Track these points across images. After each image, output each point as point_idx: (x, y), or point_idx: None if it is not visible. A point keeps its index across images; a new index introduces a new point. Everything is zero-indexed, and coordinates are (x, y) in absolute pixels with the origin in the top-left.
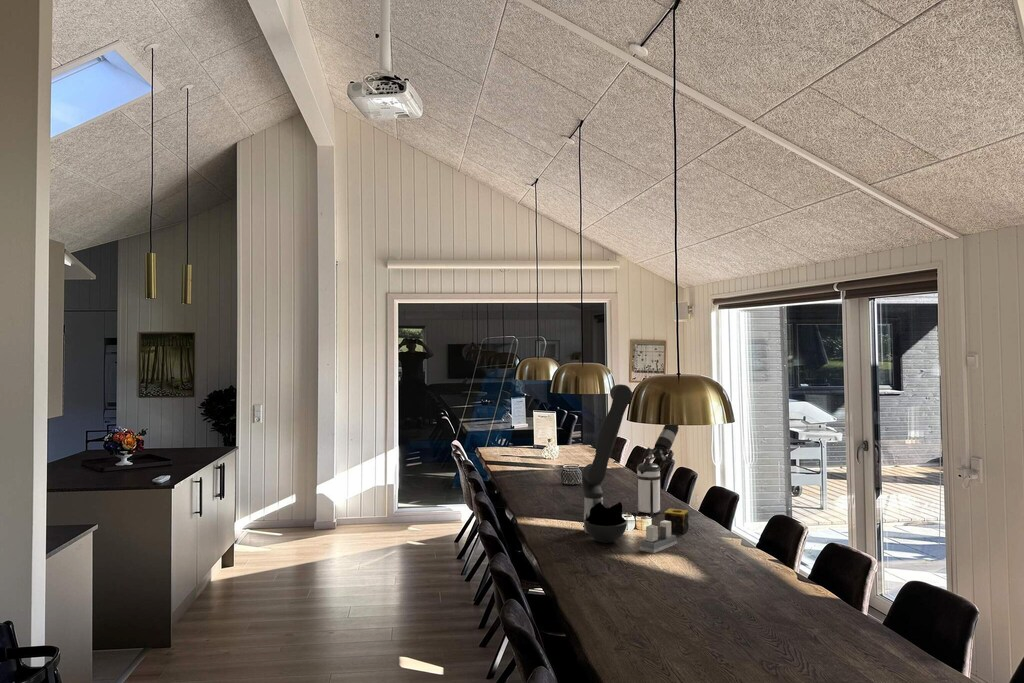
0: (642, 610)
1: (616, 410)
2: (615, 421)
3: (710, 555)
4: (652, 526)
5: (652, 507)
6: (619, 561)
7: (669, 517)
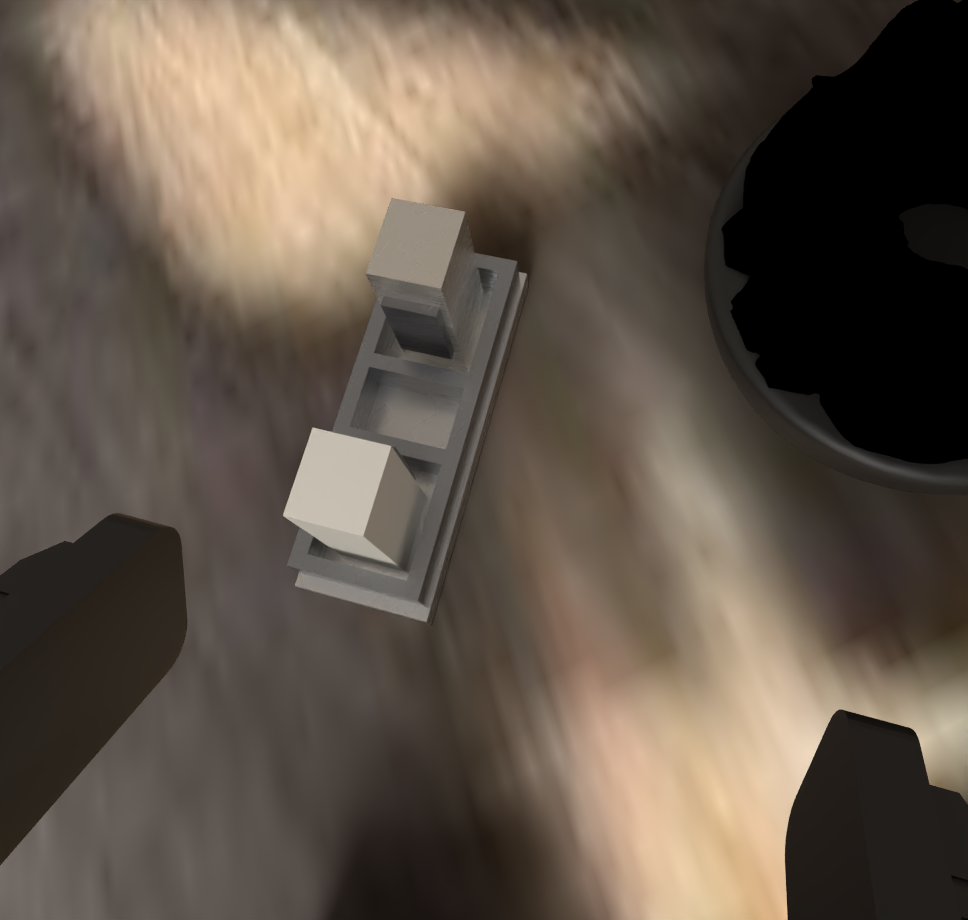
0: None
1: None
2: None
3: (27, 412)
4: (408, 241)
5: None
6: (564, 8)
7: None
